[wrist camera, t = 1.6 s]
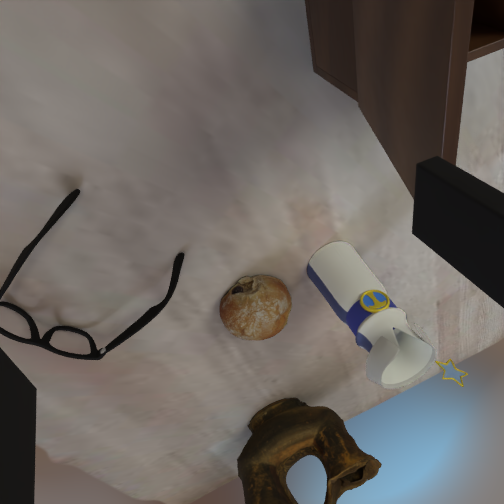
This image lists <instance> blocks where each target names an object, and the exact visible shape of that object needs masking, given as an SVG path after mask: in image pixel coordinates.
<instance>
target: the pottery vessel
mask: <svg viewBox="0 0 504 504" xmlns="http://www.w3.org/2000/svg"><path fill="white" fill-rule="evenodd" d="M248 427H249V429H250V430H251V431H252V433H253V435H252V436H251V437H250V439H249V440H248V442H247V444H246V445H245V447H244V449H243V451H242V452H241V454H240V456H239V458H238V459H237V461H238V476H239V477H240V479H241V480H242V483H243V489H244V497H245V504H298V503H297V501H296V500H295V499H294V497H293V495H292V494H291V492H290V490H289V489H288V487H287V484H286V475H287V472H288V470H289V469H290V468H291V467H292V466H293V465H294V464H295V463H296V462H297V461H298V460H300V459H301V458H303V457H305V456H307V455H314V456H316V457H317V458H319V459H320V461H321V462H322V464H323V466H324V468H325V471H326V474H327V492H326V497H325V502H324V504H336V502H337V499H338V498H339V497H340V496H341V495H342V494H343V493H344V492H345V491H347V490H352V489H353V488H357V487H358V486H361V485H362V484H364V483H365V482H366V481H367V480H370V479H372V478H373V477H375V476H376V475H377V473H378V470H379V468H380V467H381V463H380V462H379V461H378V460H377V459H375V458H374V457H373V456H371V455H368V454H366V453H364V452H363V451H362V450H360V449H359V447H358V446H357V444H356V443H355V441H354V439H353V438H352V437H351V436H350V435H349V434H348V432H347V430H346V428H345V425H344V422H343V420H342V419H341V418H340V417H339V416H338V415H337V414H336V413H335V412H334V411H333V410H331V409H329V408H328V407H324V406H317V407H309V406H308V405H307V404H306V403H304V402H302V401H301V402H300V400H299V399H298V398H290V399H283V400H279V401H277V402H275V403H272V404H270V405H268V406H267V407H265V408H264V409H262V410H261V411H259V412H258V413H257V414H256V415H255V416H254V418H253V419H252V420H251V421H250V424H249V425H248Z"/></svg>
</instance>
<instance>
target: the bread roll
mask: <svg viewBox="0 0 504 504" xmlns="http://www.w3.org/2000/svg"><path fill="white" fill-rule="evenodd" d="M291 307H292V303H291V297H290V295H289V292H288V290H287V287H286V286H285V285H284V283H283V282H282V281H281V280H280V279H277V278H274V277H270V276H265V275H256V276H253V277H248V276H245V277H243V278H241V279H240V280H239V281H238V283H237V284H236V285H235V286H233V287H232V288H231V289H230V291H229V292H228V293H227V294H226V295H225V296H224V297H223V298H222V300H221V303H220V317H221V319H222V321H223V323H224V325H225V327H226V328H227V330H228V331H229V332H230V333H232V334H233V335H235V336H237V337H239V338H241V339H243V340H264V339H267V338H271V337H273V336H275V335H276V334H277V333H279V332H280V331H281V330H282V329H283V328H284V326H285V325H286V324H287V319H288V316H289V313H290V311H291Z"/></svg>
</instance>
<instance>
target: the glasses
mask: <svg viewBox="0 0 504 504" xmlns="http://www.w3.org/2000/svg"><path fill="white" fill-rule="evenodd" d="M79 193H80V190H79V189H76V190H74V191H73V192H71V193H70V194H69V195H68V196H67V197H66V198H65V199H64V200H63V202H62V203H61V204H60V205H59V207H58V208H57V209H56V211H55V212H54V213H53V215H52V216H51V218H50V219H49V221H48V222H47V223H46V225H45V226H44V228H43V229H42V230H41V232H40V233H39V234H38V235H37V237H36V238H35V239H34V240H33V241H32V242H31V243H30V244H29V245H28V246H26V247H25V248H24V250H23V251H22V253H21V254H20V256H19V257H18V259H17V261H16V262H15V264H14V266H13V268H12V269H11V271H10V273H9V275H8V277H7V279H6V280H5V282H4V284H3V286H2V287H1V289H0V299H1V298H2V296H3V294H4V293H5V291H6V290H7V288H8V287H9V285H10V284H11V282H12V281H13V279H14V277H15V276H16V274H17V273H18V271H19V269H20V268H21V266H22V265H23V263H24V262H25V260H26V259H27V258H28V256H29V255H30V253H31V252H32V250H33V249H34V248H35V246H36V245H37V244H38V242H39V241H40V240H41V239H42V237H43V236H44V235H45V234H46V233H47V232H48V231H49V230H50V228H51V227H52V226H53V225H54V224H55V223H56V222H57V221H58V219H59V218H60V217H61V216H62V215H63V214H64V213H65V211H66V210H67V209H68V208H69V207H70V206H71V204H72V203H73V202H74V201H75V199H76V198H77V197H78V195H79ZM183 259H184V253H183V252H181V253H179V254H178V255H177V256H176V258H175V261H174V264H173V270H172V276H171V281H170V286H169V289H168V293H167V295H166V297H165V299H164V300H163V301H162V302H161V303H159V304H158V305H156V306H153V307H151V308H150V309H149V310H148V311H147V312H146V313H145V314H144V315H143V316H142V317H140V318H139V319H138V320H137V321H136V322H135V323H133V324H132V325H131V326H130V327H129V328H127V329H126V330H125V331H124V332H123V333H121V334H120V335H119V336H118V337H117V338H115V339H114V340H113V341H112V342H111V343H109V344H108V345H107V346H106V347H104V348H101V349H99V350H97V348H96V345H95V342H94V340H93V338H92V337H91V336H90V335H89V334H88V333H87V332H85V331H83V330H80V329H77V328H74V327H69V326H56V327H53V328H52V329H50V330H49V331H47V332H46V333H45V334H44V336H43V337H42V339H40V336H39V332H38V328H37V326H36V324H35V322H34V320H33V319H32V317H31V316H30V315H29V314H28V313H26V312H25V311H24V310H22V309H21V308H19V307H17V306H15V305H13V304H11V303H8V302H3V301H2V302H0V306H4V307H7V308H10V309H12V310H14V311H16V312H17V313H19V314H20V315H22V316H23V317H24V318H25V319H26V320H27V322H28V324H29V326H30V331H31V339H25V338H22V337H19V336H16V335H14V334H12V333H10V332H8V331H6V330H4V329H3V328H1V327H0V334H2V335H4V336H6V337H8V338H10V339H12V340H15V341H18V342H22V343H26V344H31V345H36V346H39V347H42V348H44V349H47V350H49V351H51V352H53V353H56V354H58V355H62V356H65V357H70V358H75V359H84V360H100V359H101V358H103V356H104V355H105V354H106V353H107V352H109V351H110V350H112V349H114V348H115V347H117V346H118V345H120V344H121V343H122V342H124V341H125V340H127V339H128V338H129V337H131V336H132V335H134V334H135V333H136V332H138V331H139V330H140V329H142V328H143V327H144V326H145V325H147V324H148V323H149V322H150V321H151V320H152V319H153V318H154V317H156V316H157V315H158V314H159V313H160V312H161V310H162V309H163V308H164V307H165V306H166V304H167V303H168V301H169V300H170V298H171V297H172V295H173V293H174V290H175V288H176V285H177V282H178V278H179V274H180V270H181V266H182V263H183ZM58 330H66V331H71V332H75V333H78V334H81V335H83V336H85V337H86V338H87V339H88V340H89V343H90V348H91V353H90V354H87V355H81V354H74V353H68V352H65V351H61V350H58V349H56V348H54V347H53V346H51V345H50V343H49V341H50V339H51V337H52V335H53V333H54V332H55V331H58Z"/></svg>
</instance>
